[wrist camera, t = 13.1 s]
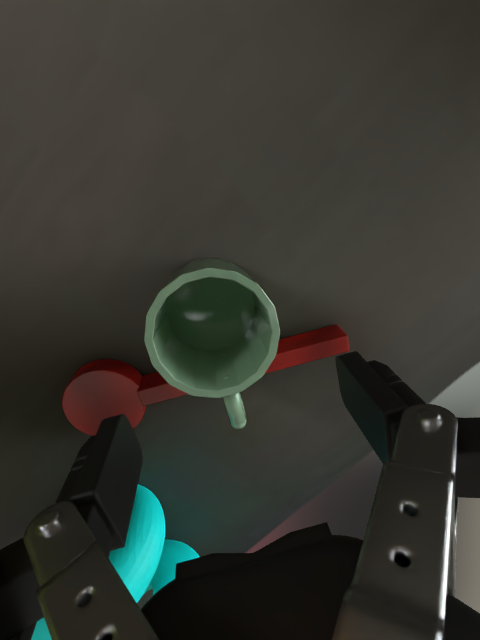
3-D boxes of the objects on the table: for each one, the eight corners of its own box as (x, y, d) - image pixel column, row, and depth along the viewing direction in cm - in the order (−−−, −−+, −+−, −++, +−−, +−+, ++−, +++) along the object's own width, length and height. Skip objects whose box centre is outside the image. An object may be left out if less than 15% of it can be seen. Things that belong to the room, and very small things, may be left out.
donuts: (109, 578, 31) (72, 748, 21) (41, 504, 27) (-40, 672, 18) (213, 535, 30) (221, 689, 21) (158, 454, 27) (139, 598, 17)
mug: (149, 272, 22) (125, 288, 15) (246, 247, 22) (263, 253, 15) (189, 398, 24) (183, 457, 18) (276, 374, 24) (301, 425, 18)
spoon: (332, 297, 24) (344, 306, 22) (342, 363, 26) (353, 376, 24) (57, 370, 23) (45, 386, 21) (87, 431, 25) (79, 450, 23)
